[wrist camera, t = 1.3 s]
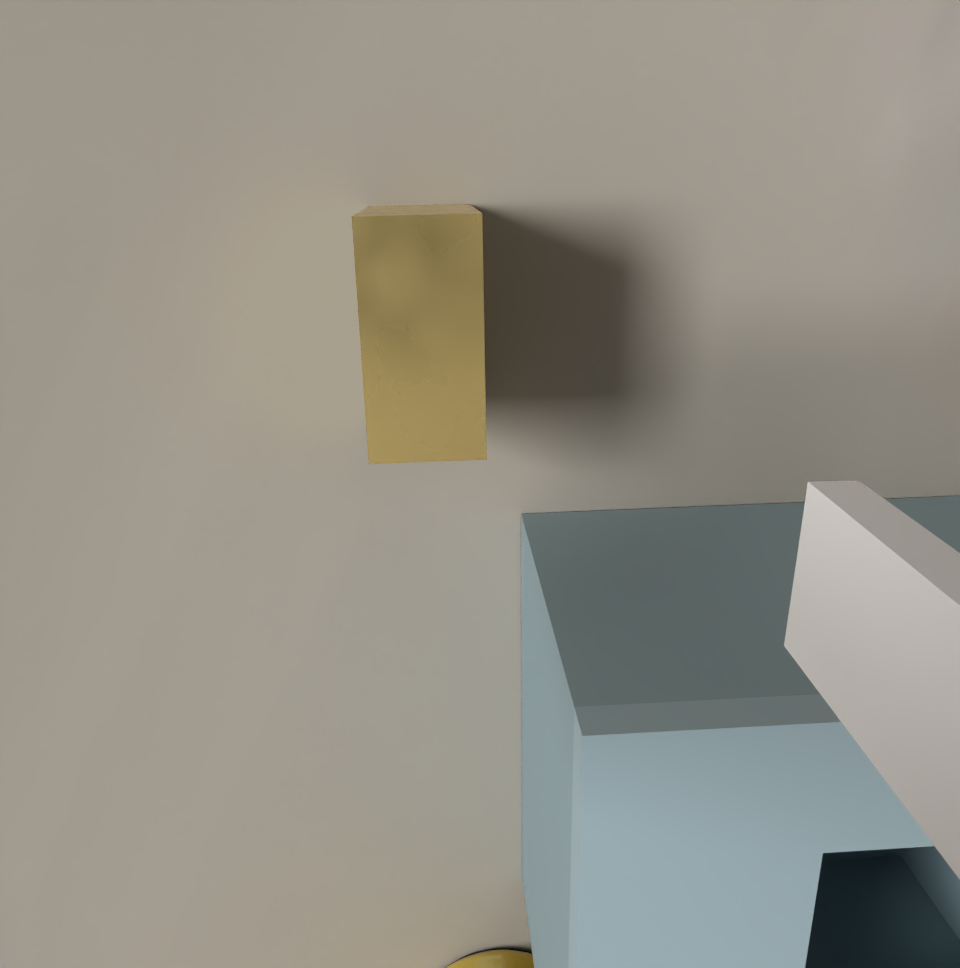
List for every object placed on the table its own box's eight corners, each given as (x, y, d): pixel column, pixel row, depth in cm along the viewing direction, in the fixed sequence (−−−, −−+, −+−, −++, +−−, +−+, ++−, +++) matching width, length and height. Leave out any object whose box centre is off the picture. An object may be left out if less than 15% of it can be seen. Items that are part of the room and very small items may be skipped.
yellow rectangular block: (368, 206, 25) (351, 216, 19) (469, 204, 25) (482, 213, 19) (380, 403, 27) (369, 463, 21) (474, 399, 27) (486, 459, 22)
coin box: (521, 513, 29) (582, 735, 17) (978, 494, 29) (1320, 696, 18) (522, 878, 34) (568, 1225, 23) (906, 854, 35) (1133, 1178, 24)
